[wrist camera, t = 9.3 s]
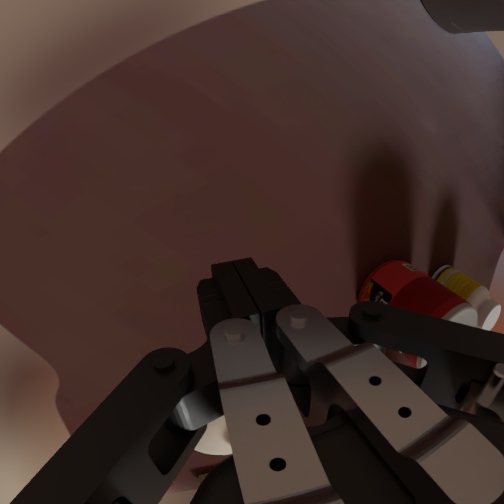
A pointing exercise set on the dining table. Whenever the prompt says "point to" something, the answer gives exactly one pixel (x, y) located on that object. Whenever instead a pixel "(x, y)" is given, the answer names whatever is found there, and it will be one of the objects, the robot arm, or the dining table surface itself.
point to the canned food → (415, 296)
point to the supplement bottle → (470, 294)
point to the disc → (215, 439)
